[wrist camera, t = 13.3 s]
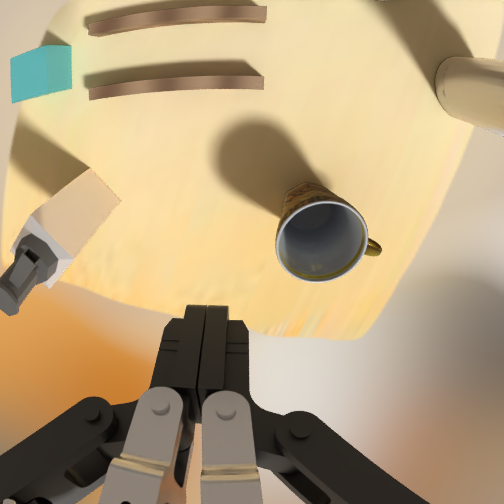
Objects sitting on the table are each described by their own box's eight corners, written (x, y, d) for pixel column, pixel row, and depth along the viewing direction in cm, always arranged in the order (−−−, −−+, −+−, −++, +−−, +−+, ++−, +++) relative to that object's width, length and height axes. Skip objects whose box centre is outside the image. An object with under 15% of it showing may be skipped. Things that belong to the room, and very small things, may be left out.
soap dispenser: (132, 189, 39) (49, 297, 20) (95, 227, 41) (18, 336, 23) (100, 156, 36) (-7, 240, 17) (66, 197, 39) (-28, 292, 20)
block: (71, 46, 27) (46, 44, 22) (72, 88, 31) (47, 93, 26) (37, 56, 27) (10, 58, 22) (38, 96, 30) (12, 103, 25)
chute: (265, 11, 27) (266, 6, 25) (262, 88, 32) (263, 89, 30) (99, 26, 27) (88, 23, 24) (99, 97, 32) (89, 100, 29)
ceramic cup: (261, 231, 42) (264, 275, 34) (280, 161, 37) (291, 189, 29) (347, 249, 44) (369, 292, 35) (373, 186, 39) (405, 220, 30)
